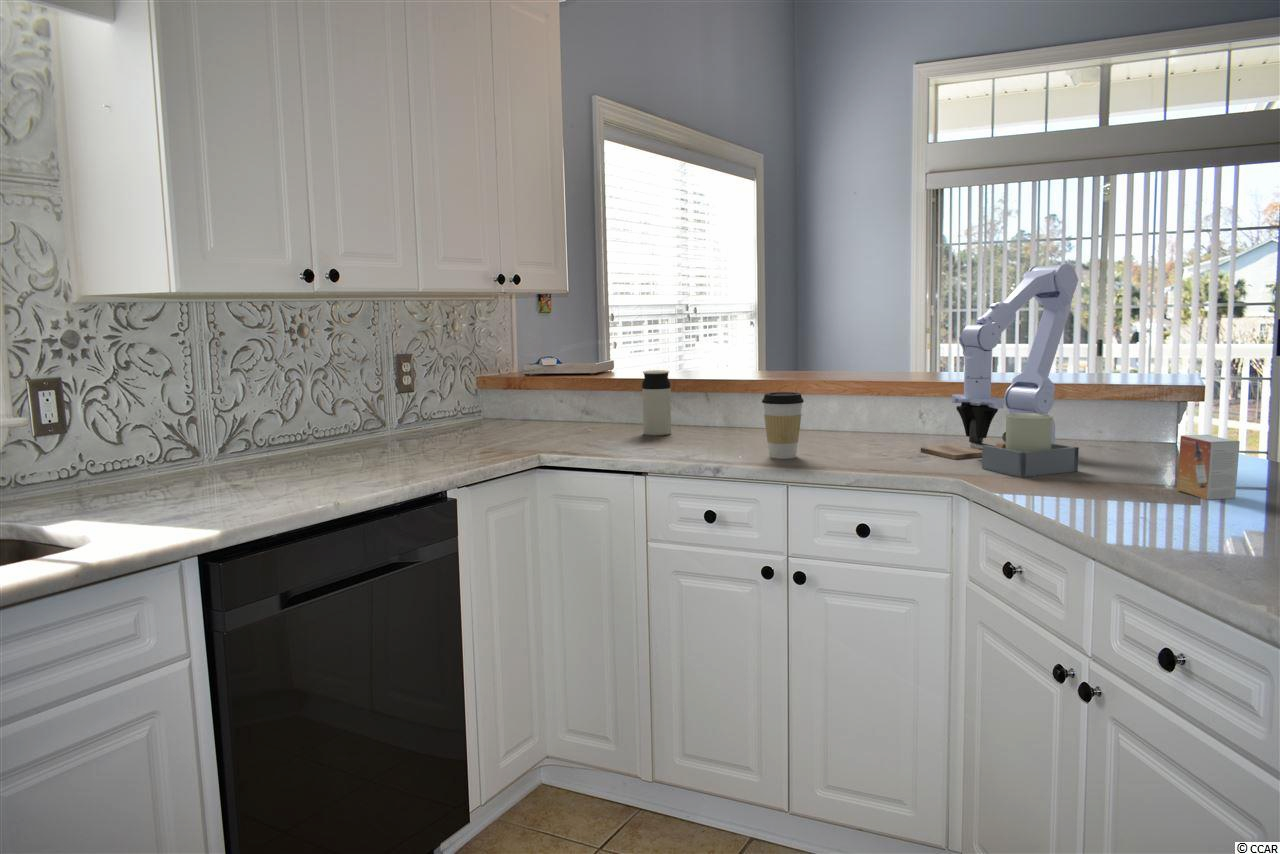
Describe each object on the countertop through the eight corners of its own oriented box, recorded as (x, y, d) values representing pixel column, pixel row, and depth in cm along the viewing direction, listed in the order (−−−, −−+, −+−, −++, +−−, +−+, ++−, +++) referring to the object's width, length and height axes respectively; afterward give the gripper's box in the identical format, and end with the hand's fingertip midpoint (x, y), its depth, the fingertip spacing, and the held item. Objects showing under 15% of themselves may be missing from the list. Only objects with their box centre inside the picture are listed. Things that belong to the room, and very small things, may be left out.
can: (1056, 473, 184) (1058, 416, 183) (1008, 473, 186) (1010, 416, 185) (1045, 465, 193) (1047, 410, 192) (1000, 465, 195) (1001, 410, 194)
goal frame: (1036, 462, 197) (1037, 440, 197) (1077, 470, 187) (1078, 447, 186) (981, 468, 192) (982, 445, 191) (1021, 477, 181) (1022, 453, 181)
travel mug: (671, 435, 251) (670, 371, 248) (643, 436, 251) (641, 372, 248) (671, 431, 259) (669, 369, 256) (643, 432, 259) (642, 370, 256)
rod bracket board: (954, 448, 218) (954, 444, 218) (989, 455, 207) (989, 451, 207) (920, 451, 215) (920, 447, 214) (954, 459, 203) (954, 455, 203)
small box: (1175, 491, 166) (1179, 434, 164) (1204, 489, 166) (1207, 433, 165) (1206, 500, 158) (1210, 441, 156) (1236, 498, 158) (1240, 440, 157)
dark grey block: (979, 454, 206) (980, 417, 205) (1021, 463, 195) (1022, 424, 193) (962, 456, 205) (963, 419, 204) (1003, 465, 193) (1004, 425, 192)
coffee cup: (808, 454, 215) (808, 392, 213) (797, 461, 206) (797, 396, 204) (768, 452, 219) (768, 391, 217) (756, 458, 210) (756, 395, 208)
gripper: (941, 376, 207) (940, 434, 209) (986, 380, 194) (984, 442, 196) (966, 374, 210) (964, 432, 211) (1012, 379, 196) (1010, 440, 198)
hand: (976, 437), depth 204 cm, fingers closed on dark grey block, 3 cm apart
